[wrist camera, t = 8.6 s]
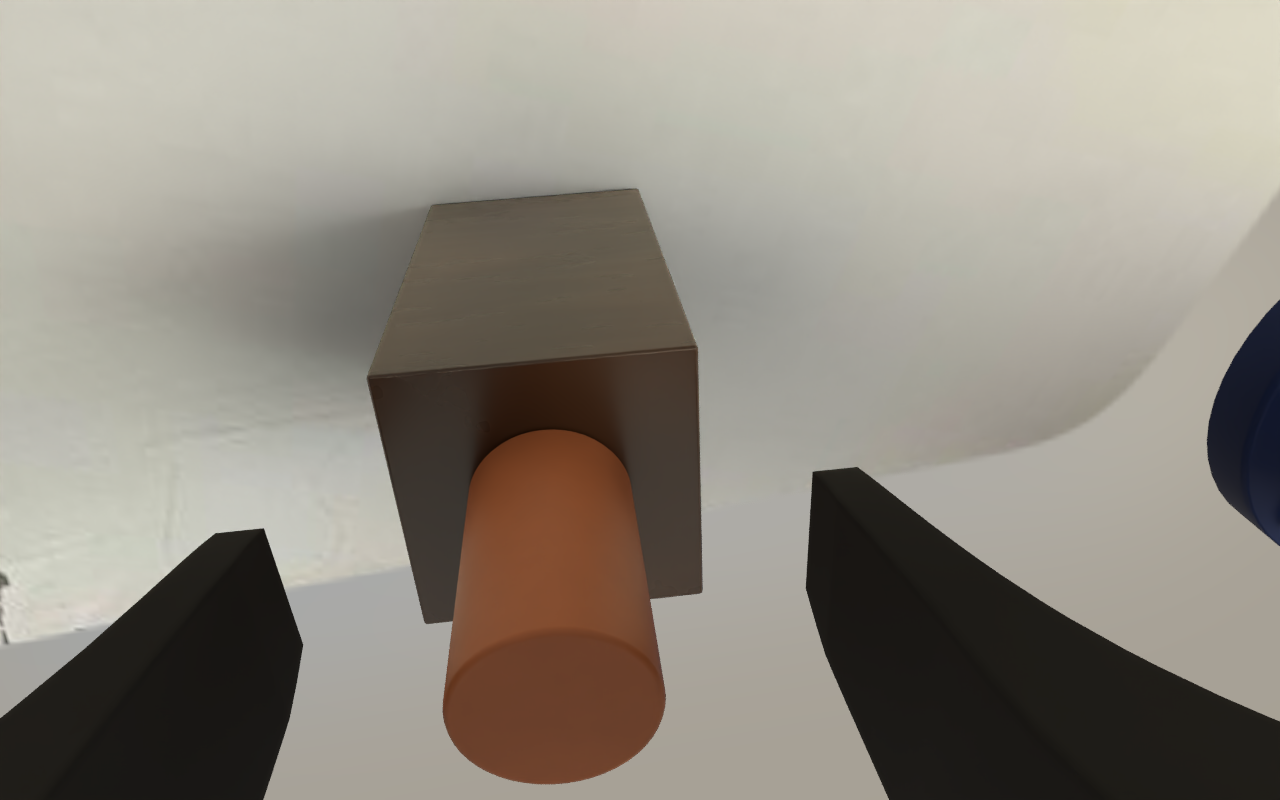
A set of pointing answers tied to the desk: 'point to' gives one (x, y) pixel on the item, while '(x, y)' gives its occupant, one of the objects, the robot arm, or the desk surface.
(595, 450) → the peg
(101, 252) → the desk surface
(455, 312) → the stand
